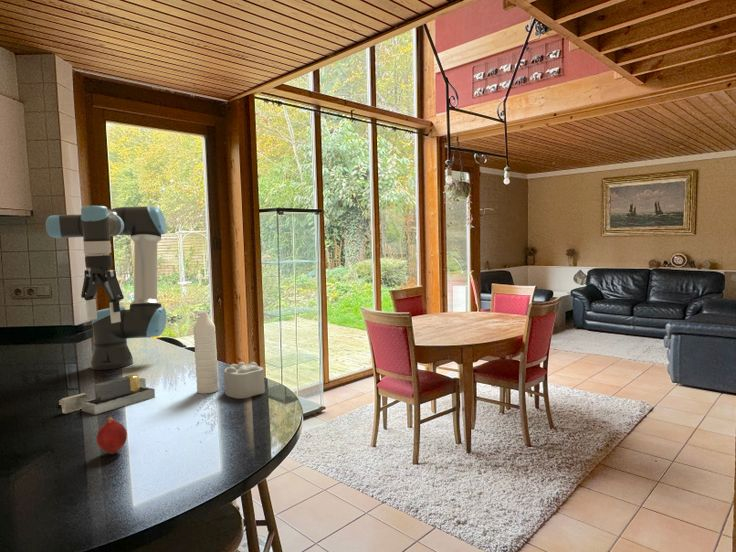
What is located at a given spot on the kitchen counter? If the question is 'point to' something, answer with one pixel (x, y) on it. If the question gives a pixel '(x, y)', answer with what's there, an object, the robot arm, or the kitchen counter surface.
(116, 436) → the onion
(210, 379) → the water bottle
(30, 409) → the kitchen counter surface
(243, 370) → the lumpy-topped squat cylinder
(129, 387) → the lock bar
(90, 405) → the door board
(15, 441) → the kitchen counter surface
